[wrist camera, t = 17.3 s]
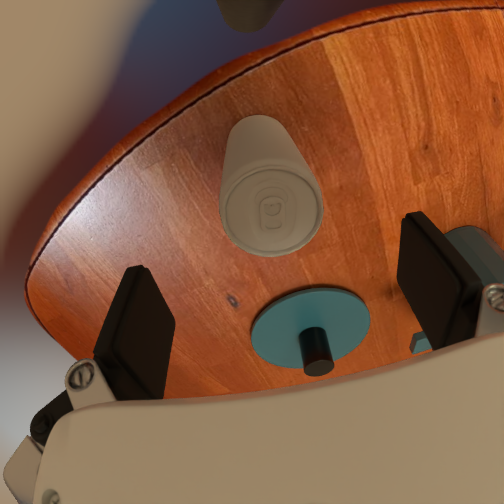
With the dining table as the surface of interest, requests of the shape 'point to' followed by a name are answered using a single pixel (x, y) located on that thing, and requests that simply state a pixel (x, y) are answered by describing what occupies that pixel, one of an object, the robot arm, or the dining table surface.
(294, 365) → the pot lid
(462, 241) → the enamel pot
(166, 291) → the dining table surface
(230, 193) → the beverage can
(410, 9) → the dining table surface
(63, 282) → the dining table surface
